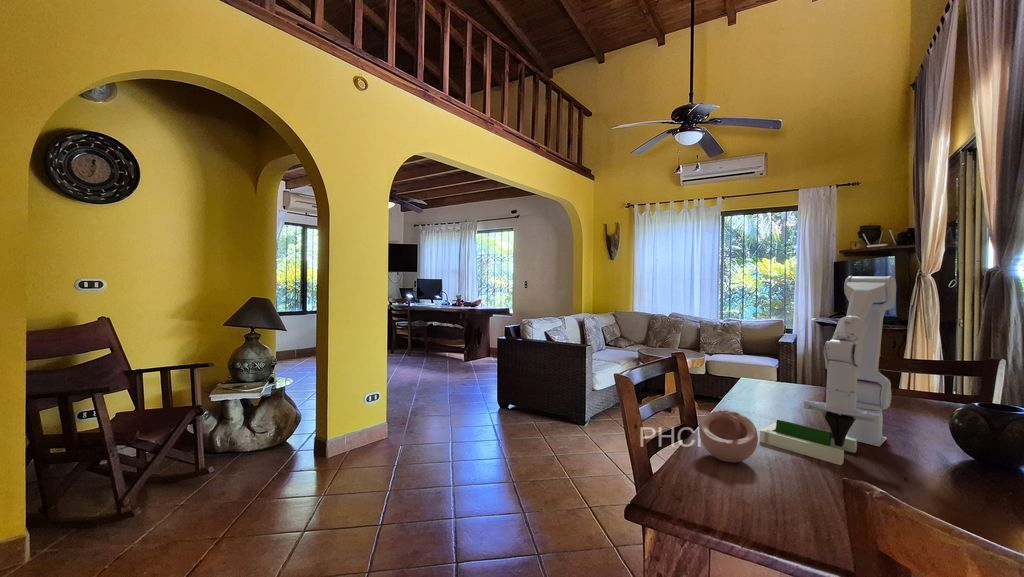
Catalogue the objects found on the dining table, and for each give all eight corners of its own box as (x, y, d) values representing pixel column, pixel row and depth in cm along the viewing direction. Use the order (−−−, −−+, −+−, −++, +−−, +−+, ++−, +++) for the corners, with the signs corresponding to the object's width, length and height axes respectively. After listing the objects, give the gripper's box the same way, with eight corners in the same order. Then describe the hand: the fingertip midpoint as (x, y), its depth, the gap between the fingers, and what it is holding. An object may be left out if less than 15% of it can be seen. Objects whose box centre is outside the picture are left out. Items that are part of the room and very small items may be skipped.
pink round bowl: (693, 461, 94) (695, 411, 94) (703, 445, 104) (704, 400, 103) (754, 477, 87) (756, 423, 87) (758, 457, 97) (760, 409, 97)
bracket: (779, 430, 116) (779, 420, 116) (856, 450, 103) (857, 439, 103) (759, 441, 107) (759, 430, 107) (841, 465, 94) (841, 452, 94)
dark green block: (822, 467, 103) (843, 437, 101) (815, 467, 99) (837, 437, 97) (774, 434, 112) (793, 407, 110) (766, 434, 108) (786, 405, 106)
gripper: (800, 385, 103) (798, 439, 103) (877, 399, 92) (874, 459, 92) (809, 381, 107) (807, 433, 107) (883, 394, 96) (881, 452, 96)
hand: (839, 445), depth 100 cm, fingers closed
